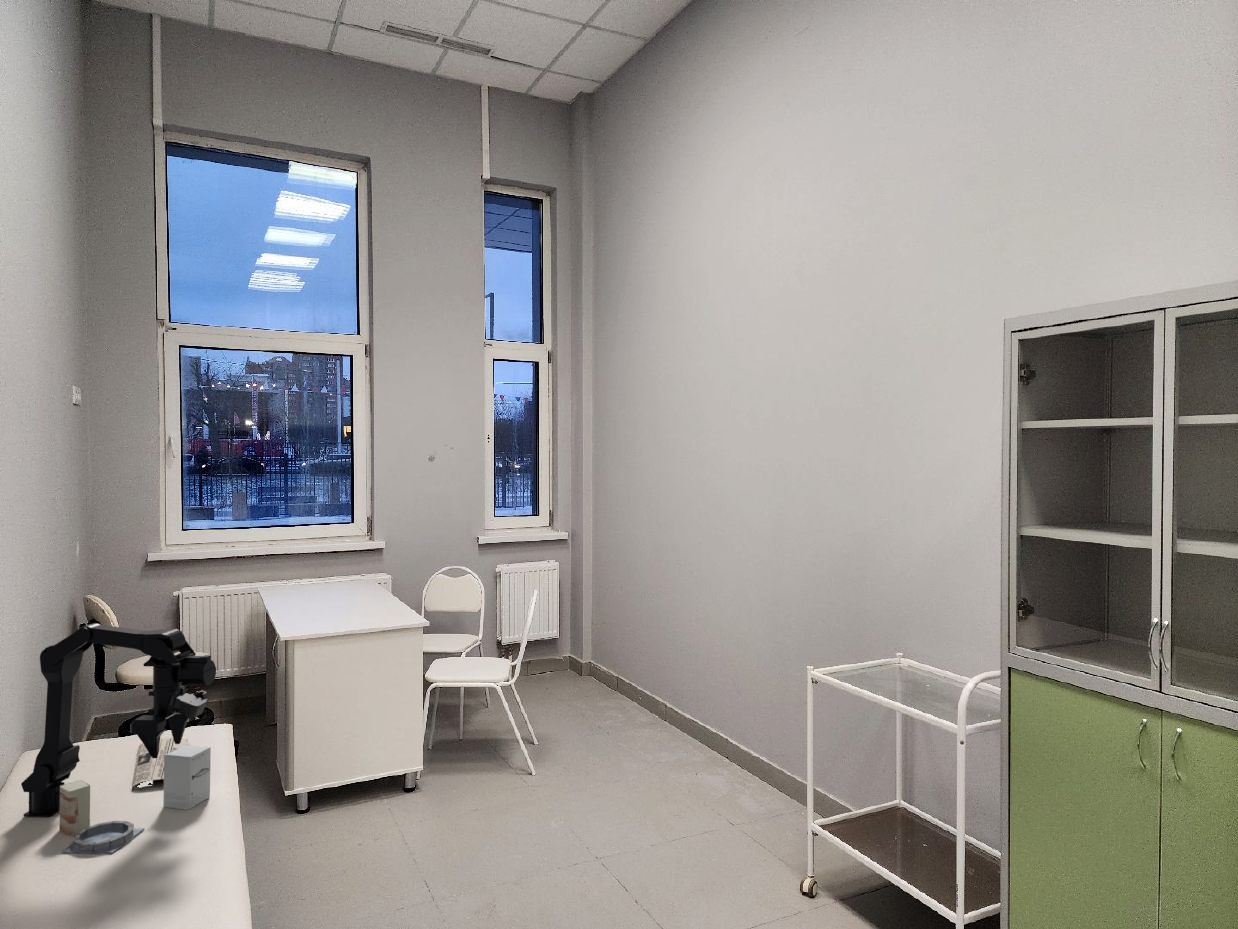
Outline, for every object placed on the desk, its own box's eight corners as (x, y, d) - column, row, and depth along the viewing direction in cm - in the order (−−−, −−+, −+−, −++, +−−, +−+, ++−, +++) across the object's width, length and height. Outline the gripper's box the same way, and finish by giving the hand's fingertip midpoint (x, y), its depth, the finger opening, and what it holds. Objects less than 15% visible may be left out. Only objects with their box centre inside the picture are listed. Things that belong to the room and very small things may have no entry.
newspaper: (139, 749, 229) (139, 737, 229) (188, 742, 235) (188, 731, 235) (131, 794, 198) (131, 780, 198) (188, 785, 204) (188, 771, 204)
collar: (60, 853, 167) (60, 844, 167) (95, 829, 178) (96, 820, 178) (112, 854, 167) (112, 845, 167) (144, 830, 178) (144, 821, 178)
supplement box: (189, 810, 188) (189, 757, 188) (162, 807, 190) (162, 754, 190) (211, 797, 195) (211, 746, 195) (185, 795, 197) (185, 744, 197)
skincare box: (58, 830, 177) (58, 785, 177) (80, 823, 181) (80, 779, 181) (68, 837, 174) (68, 791, 174) (90, 829, 178) (91, 784, 178)
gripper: (178, 696, 177) (177, 766, 177) (221, 674, 196) (220, 737, 196) (128, 696, 177) (128, 765, 177) (176, 673, 196) (176, 737, 196)
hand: (166, 750), depth 186 cm, fingers open, 9 cm apart
